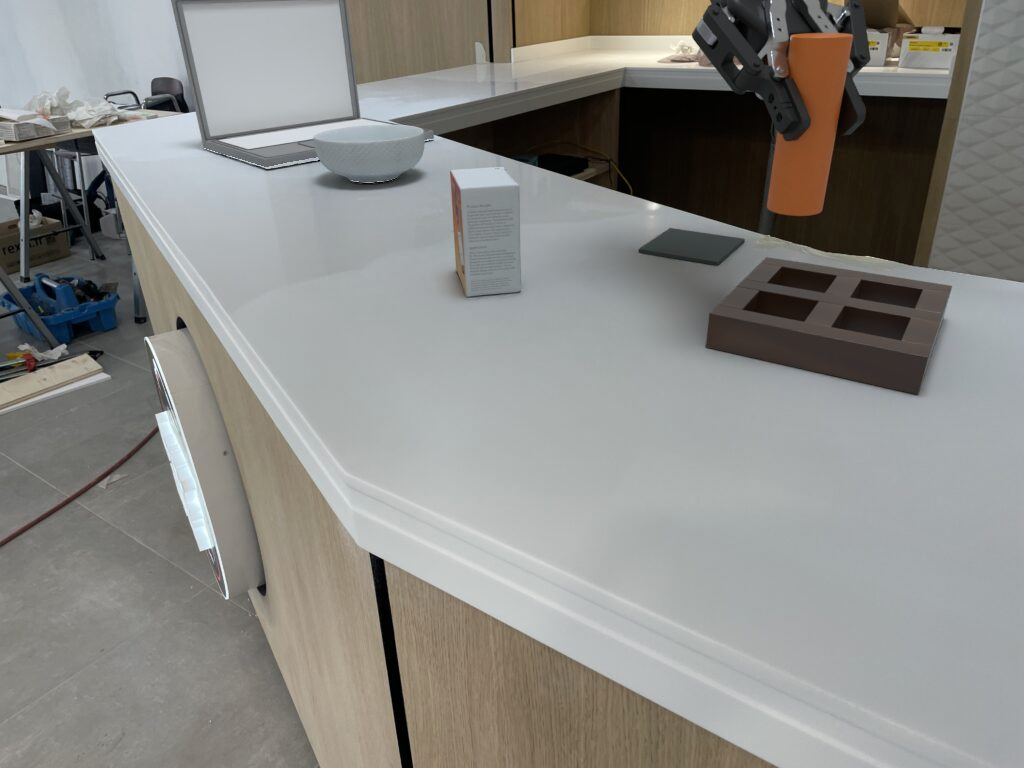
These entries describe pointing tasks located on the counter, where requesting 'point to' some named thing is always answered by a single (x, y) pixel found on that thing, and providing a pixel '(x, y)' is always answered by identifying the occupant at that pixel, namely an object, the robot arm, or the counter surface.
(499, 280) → the small box
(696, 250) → the mat
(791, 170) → the peg
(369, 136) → the cereal bowl
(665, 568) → the counter surface
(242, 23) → the laptop
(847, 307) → the peg board
